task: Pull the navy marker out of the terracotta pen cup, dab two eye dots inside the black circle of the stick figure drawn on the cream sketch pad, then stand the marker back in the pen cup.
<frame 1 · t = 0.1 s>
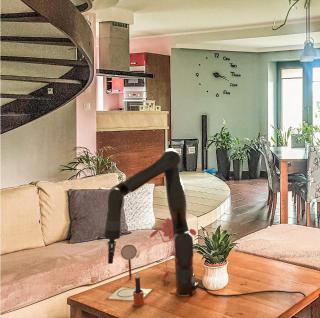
hand: (110, 260, 214), 22 cm above the table, tool pointing down, fingers open, 8 cm apart
marker: (139, 303, 215), point 1 cm above the table, touching pen cup
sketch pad: (130, 294, 227), on the table
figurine: (174, 277, 249), on the table
magnifying glass: (130, 279, 249), on the table
pen cup: (139, 305, 215), on the table
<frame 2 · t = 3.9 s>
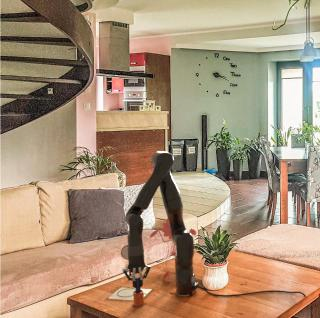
hand: (137, 286, 214), 9 cm above the table, tool pointing down, fingers closed on marker, 2 cm apart
marker: (139, 303, 215), point 1 cm above the table, touching gripper, pen cup
everything else where it was.
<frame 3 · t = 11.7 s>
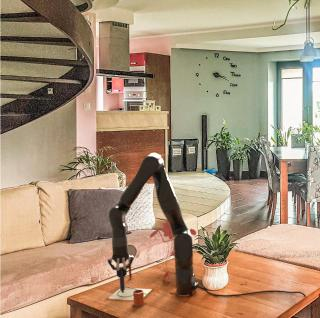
hand: (121, 276, 226), 10 cm above the table, tool pointing down, fingers closed on marker, 2 cm apart
marker: (122, 292, 226), point 2 cm above the table, touching gripper
everything else where it was.
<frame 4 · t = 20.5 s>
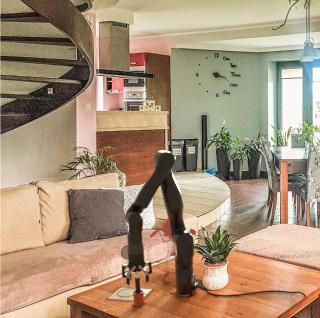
hand: (137, 283, 214), 11 cm above the table, tool pointing down, fingers open, 8 cm apart
marker: (138, 304, 215), point 1 cm above the table, touching pen cup
everything else where it was.
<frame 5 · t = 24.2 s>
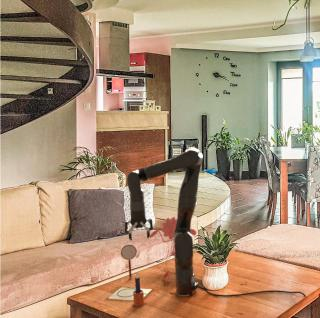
hand: (139, 239, 229), 28 cm above the table, tool pointing down, fingers open, 8 cm apart
nothing on the table moved.
at the end: marker 0.1 cm off-centre in the pen cup, point 0.6 cm above the pen cup's base; marker tilted 0°; the gripper is holding nothing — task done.
